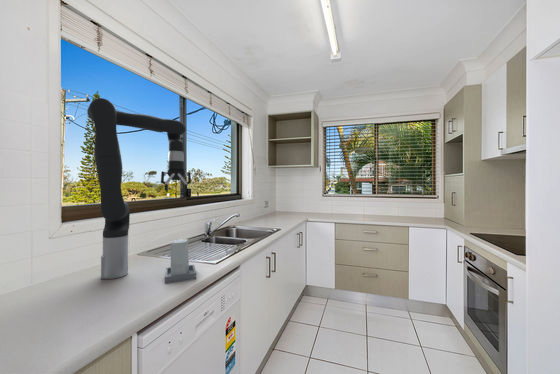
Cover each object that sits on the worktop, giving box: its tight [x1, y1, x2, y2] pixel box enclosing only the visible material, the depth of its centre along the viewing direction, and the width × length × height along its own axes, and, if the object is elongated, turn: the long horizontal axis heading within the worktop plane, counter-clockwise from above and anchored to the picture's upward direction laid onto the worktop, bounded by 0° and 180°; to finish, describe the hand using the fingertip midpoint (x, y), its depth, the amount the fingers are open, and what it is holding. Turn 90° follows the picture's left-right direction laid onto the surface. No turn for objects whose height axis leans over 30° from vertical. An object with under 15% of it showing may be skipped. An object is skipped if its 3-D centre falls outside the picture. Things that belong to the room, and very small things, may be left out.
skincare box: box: [170, 238, 190, 276], centre depth 106 cm, size 8×6×15 cm
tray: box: [164, 264, 197, 284], centre depth 106 cm, size 12×12×2 cm
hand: (176, 191), depth 126 cm, fingers open, 8 cm apart
